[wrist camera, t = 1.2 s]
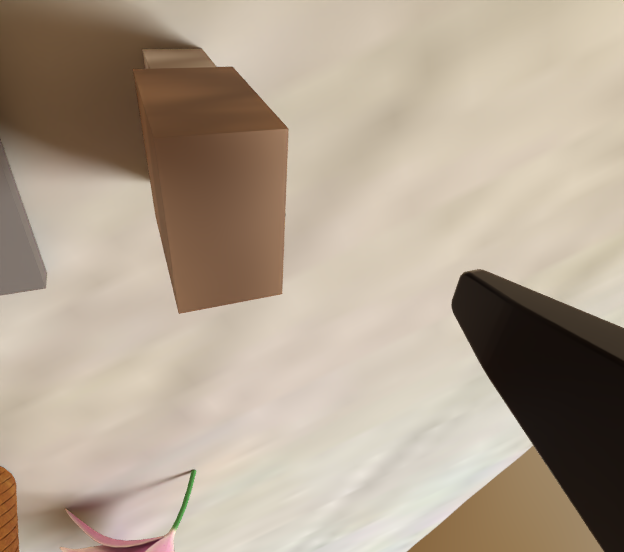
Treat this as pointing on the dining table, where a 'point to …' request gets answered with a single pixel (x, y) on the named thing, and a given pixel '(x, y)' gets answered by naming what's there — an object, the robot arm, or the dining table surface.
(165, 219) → the brown wooden block
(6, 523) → the disposable coffee cup
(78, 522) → the lily
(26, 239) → the rest mat
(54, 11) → the dining table surface
